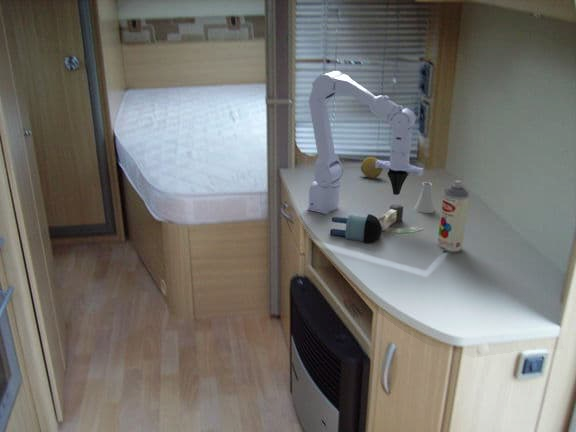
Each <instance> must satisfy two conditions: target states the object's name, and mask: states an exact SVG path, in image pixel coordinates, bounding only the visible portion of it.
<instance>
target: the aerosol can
mask: <svg viewBox="0 0 576 432" xmlns="http://www.w3.org/2000/svg"><path fill="white" fill-rule="evenodd" d="M469 201H470V192H469V191H468V190H467V189H466V188H465V187H464V186H463V185H462V181H461V180H458V179H457V180H454V183H453V184H452V185H450V186H449V187H448V188H445V189H444V191H443V194H442V201H441V209H440V210H441V211H440V218H439V227H438V237H437V246H439V247H440V248H442V249H444V250H443V253H446V254H452V255H453V254H459V253H460V252H462V250H463V244H464V235H465V230H466V229H465V228H466V221H467V215H468V214H467V213H468V209H469V208H468V207H469Z"/></svg>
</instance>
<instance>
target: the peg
mask: <svg viewBox="0 0 576 432" xmlns="http://www.w3.org/2000/svg"><path fill="white" fill-rule="evenodd" d="M403 215H404V206H403V205H402V204H391V205H390V206H389V210H388V211H386V212H385V213H384V214H382V215H381V216H379V217H378V220H379V221H380V224H381V227H382V232H383V231H384V232H385V230H386V228H390V226H392V225H393V224H395V223H402V222H403Z"/></svg>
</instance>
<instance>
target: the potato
mask: <svg viewBox="0 0 576 432" xmlns="http://www.w3.org/2000/svg"><path fill="white" fill-rule="evenodd" d="M377 160H380V159H378V158H376V157H374V156H368V157H365V159H363V161H362V162H361V165H360V172H361V173H362V174H363V175H364V176H365V177H367V178H370V179H376V178H378V177H379V176H381V174H382V172H383V170H384V168H376V167H375V164H376V161H377Z"/></svg>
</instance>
